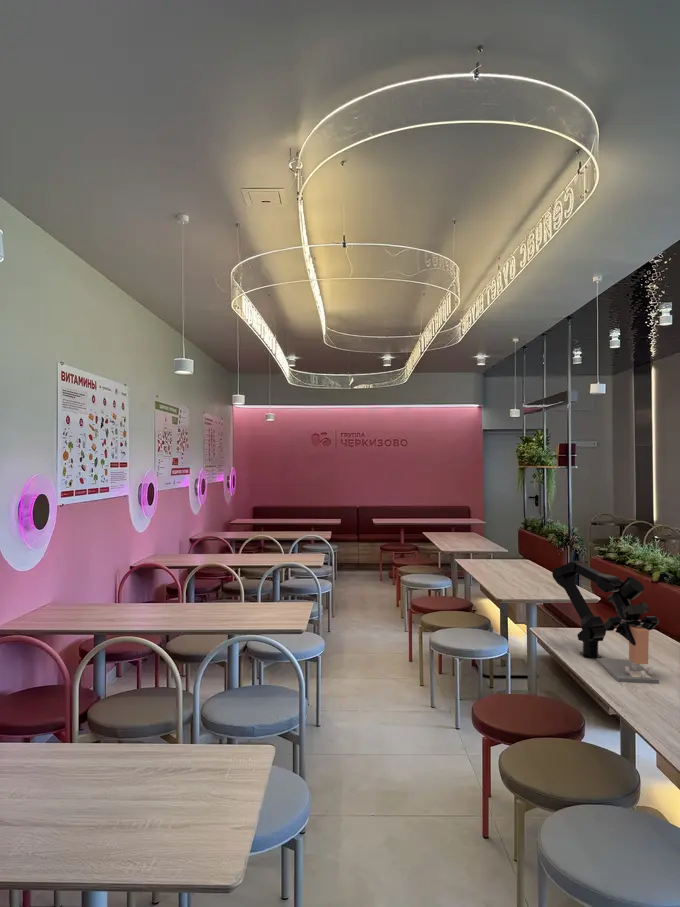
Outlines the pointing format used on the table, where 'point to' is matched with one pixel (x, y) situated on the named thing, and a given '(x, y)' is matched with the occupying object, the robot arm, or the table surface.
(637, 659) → the terracotta block
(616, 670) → the base plate
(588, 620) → the robot arm
